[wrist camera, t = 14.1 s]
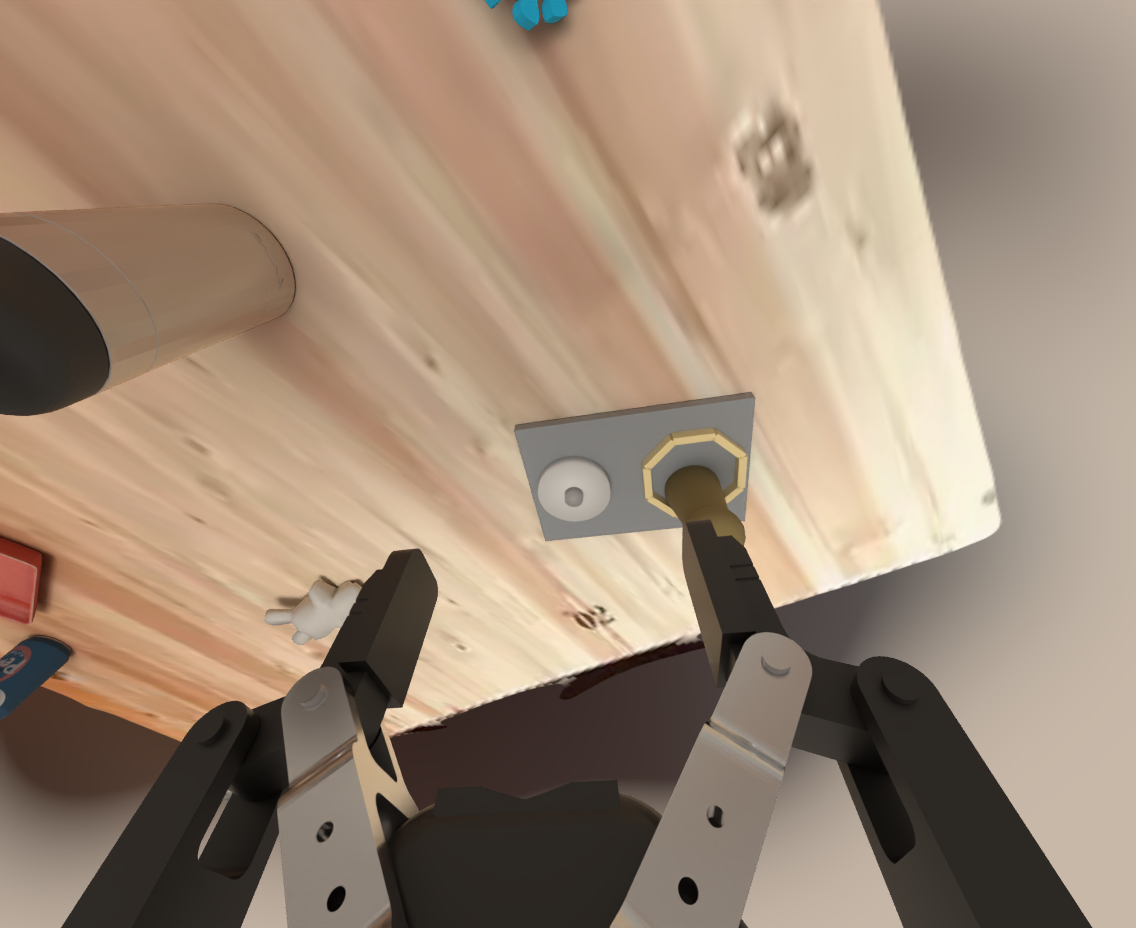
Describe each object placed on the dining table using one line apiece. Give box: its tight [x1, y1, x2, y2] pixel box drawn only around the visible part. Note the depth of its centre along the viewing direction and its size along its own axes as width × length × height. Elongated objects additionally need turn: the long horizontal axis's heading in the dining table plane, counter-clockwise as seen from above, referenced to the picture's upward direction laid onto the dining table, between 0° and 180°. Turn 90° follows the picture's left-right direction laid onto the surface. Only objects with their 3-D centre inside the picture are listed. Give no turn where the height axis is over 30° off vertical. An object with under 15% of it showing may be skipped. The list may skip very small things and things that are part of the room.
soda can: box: [0, 636, 71, 719], centre depth 67 cm, size 7×7×12 cm
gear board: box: [514, 392, 755, 541], centre depth 45 cm, size 24×16×4 cm, turn 100°
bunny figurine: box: [264, 580, 362, 645], centre depth 60 cm, size 10×5×15 cm
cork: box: [665, 465, 746, 546], centre depth 40 cm, size 6×6×11 cm
